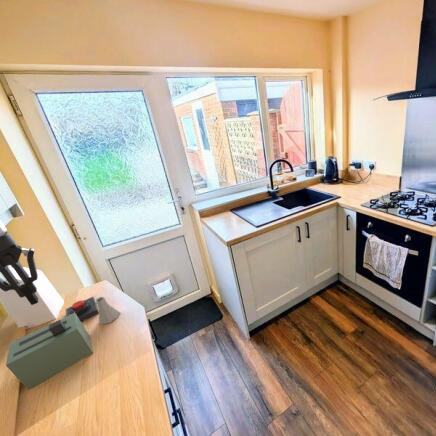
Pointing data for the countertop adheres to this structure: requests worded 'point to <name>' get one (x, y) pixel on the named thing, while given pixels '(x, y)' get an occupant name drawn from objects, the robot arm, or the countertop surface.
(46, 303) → the milk
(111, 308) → the flask
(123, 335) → the countertop surface
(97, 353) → the countertop surface
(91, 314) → the block
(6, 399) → the countertop surface
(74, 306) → the power button
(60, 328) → the toaster slider
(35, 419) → the countertop surface
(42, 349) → the toaster
